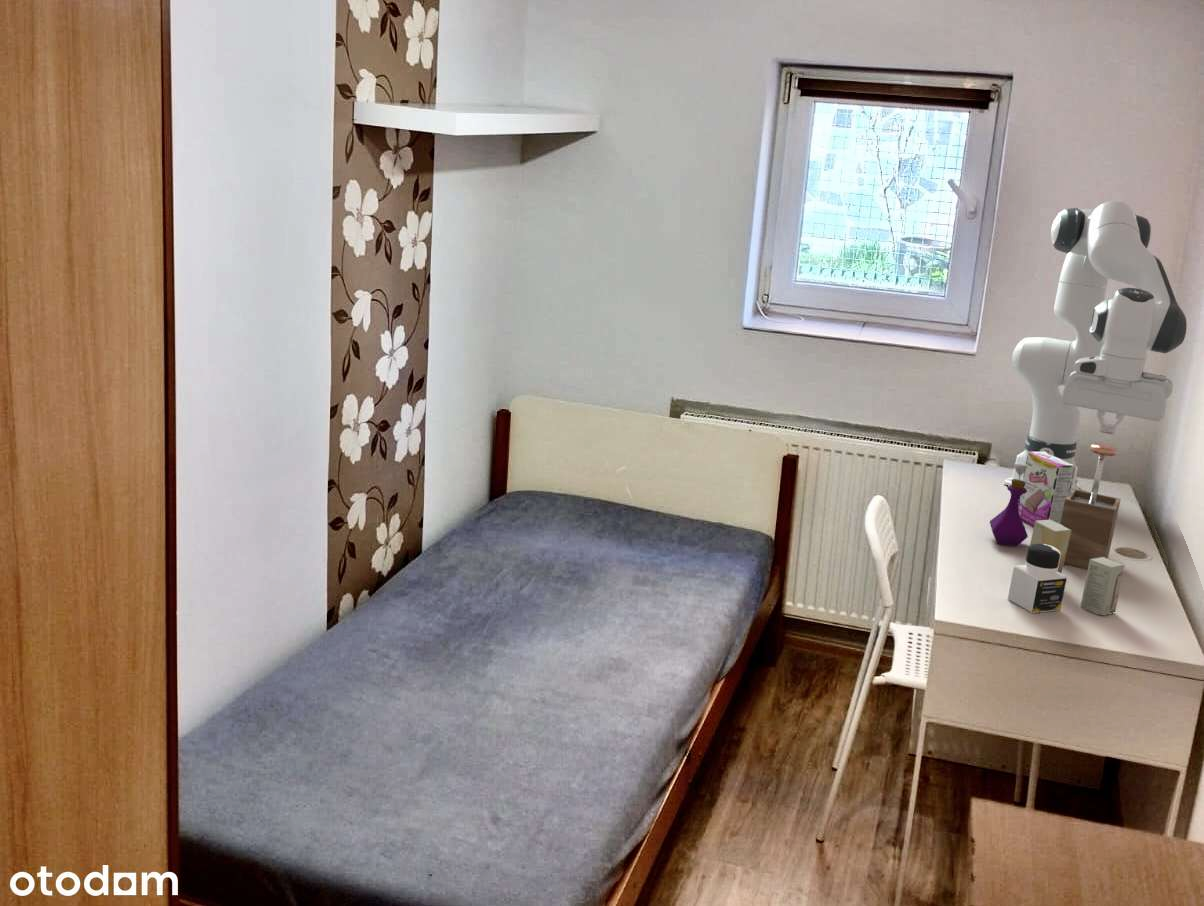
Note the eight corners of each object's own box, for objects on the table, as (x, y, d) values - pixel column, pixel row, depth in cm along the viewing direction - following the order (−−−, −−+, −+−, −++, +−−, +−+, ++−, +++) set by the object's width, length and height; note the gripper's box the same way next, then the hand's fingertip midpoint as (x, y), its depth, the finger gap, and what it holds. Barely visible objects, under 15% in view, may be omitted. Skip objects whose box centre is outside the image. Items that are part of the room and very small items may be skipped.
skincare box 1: (1022, 575, 258) (1033, 519, 254) (1038, 574, 260) (1049, 518, 256) (1044, 587, 252) (1055, 530, 249) (1060, 586, 254) (1072, 529, 251)
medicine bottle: (1032, 614, 238) (1043, 554, 235) (1006, 599, 244) (1017, 541, 241) (1060, 610, 241) (1073, 552, 238) (1035, 596, 247) (1046, 539, 244)
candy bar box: (1014, 517, 296) (1026, 451, 291) (1031, 516, 297) (1044, 450, 293) (1045, 534, 286) (1058, 465, 281) (1062, 533, 287) (1076, 465, 283)
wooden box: (1059, 548, 276) (1072, 488, 273) (1107, 559, 272) (1120, 498, 268) (1052, 561, 268) (1065, 499, 264) (1101, 573, 264) (1115, 510, 260)
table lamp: (1075, 498, 272) (1087, 439, 268) (1113, 506, 268) (1125, 446, 265) (1069, 507, 265) (1082, 446, 261) (1108, 515, 262) (1121, 454, 258)
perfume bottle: (1025, 550, 273) (1040, 472, 268) (989, 545, 274) (1004, 467, 269) (1021, 539, 280) (1036, 462, 275) (987, 534, 282) (1001, 458, 277)
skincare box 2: (1115, 613, 242) (1126, 565, 239) (1101, 617, 240) (1112, 567, 237) (1093, 603, 246) (1103, 555, 243) (1078, 606, 244) (1089, 558, 241)
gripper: (1175, 375, 257) (1161, 440, 260) (1071, 357, 265) (1059, 420, 269) (1173, 379, 251) (1158, 446, 255) (1067, 361, 260) (1054, 426, 264)
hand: (1106, 433), depth 262 cm, fingers closed
